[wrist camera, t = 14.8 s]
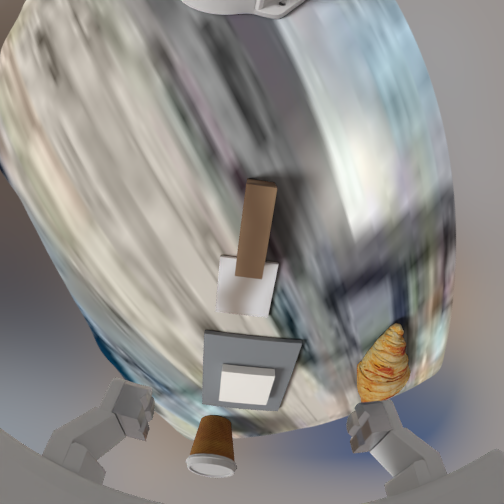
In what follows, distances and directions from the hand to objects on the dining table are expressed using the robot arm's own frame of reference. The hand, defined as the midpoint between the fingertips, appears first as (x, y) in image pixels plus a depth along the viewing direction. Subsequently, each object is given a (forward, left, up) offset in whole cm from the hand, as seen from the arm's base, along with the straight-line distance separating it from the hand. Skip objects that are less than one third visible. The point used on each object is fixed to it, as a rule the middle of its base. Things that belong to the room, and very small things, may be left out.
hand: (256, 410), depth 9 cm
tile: (+14, +17, -22) cm, 31 cm away
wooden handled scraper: (+3, +3, -24) cm, 24 cm away
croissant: (-2, +33, -24) cm, 41 cm away
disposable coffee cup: (+32, +28, -24) cm, 49 cm away
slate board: (+17, +19, -24) cm, 35 cm away
